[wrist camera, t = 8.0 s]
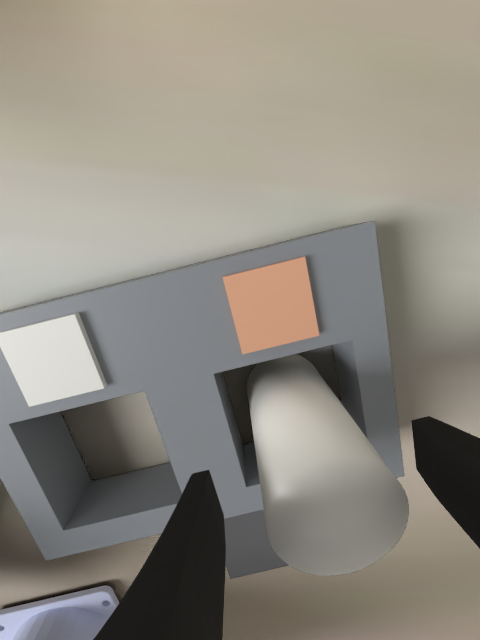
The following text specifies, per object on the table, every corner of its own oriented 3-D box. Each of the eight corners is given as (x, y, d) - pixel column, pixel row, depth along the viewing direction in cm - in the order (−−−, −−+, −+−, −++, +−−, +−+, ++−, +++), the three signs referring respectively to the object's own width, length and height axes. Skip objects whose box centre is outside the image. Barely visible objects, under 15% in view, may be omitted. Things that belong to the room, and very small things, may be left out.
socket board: (373, 436, 17) (408, 480, 14) (76, 507, 17) (42, 567, 14) (343, 226, 14) (378, 219, 11) (-16, 316, 14) (-88, 336, 11)
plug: (324, 409, 16) (414, 557, 8) (255, 426, 16) (282, 588, 8) (312, 344, 15) (401, 444, 7) (239, 362, 15) (251, 480, 8)
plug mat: (334, 545, 19) (337, 553, 18) (230, 570, 19) (230, 578, 18) (316, 457, 17) (319, 463, 16) (201, 484, 17) (200, 491, 17)
